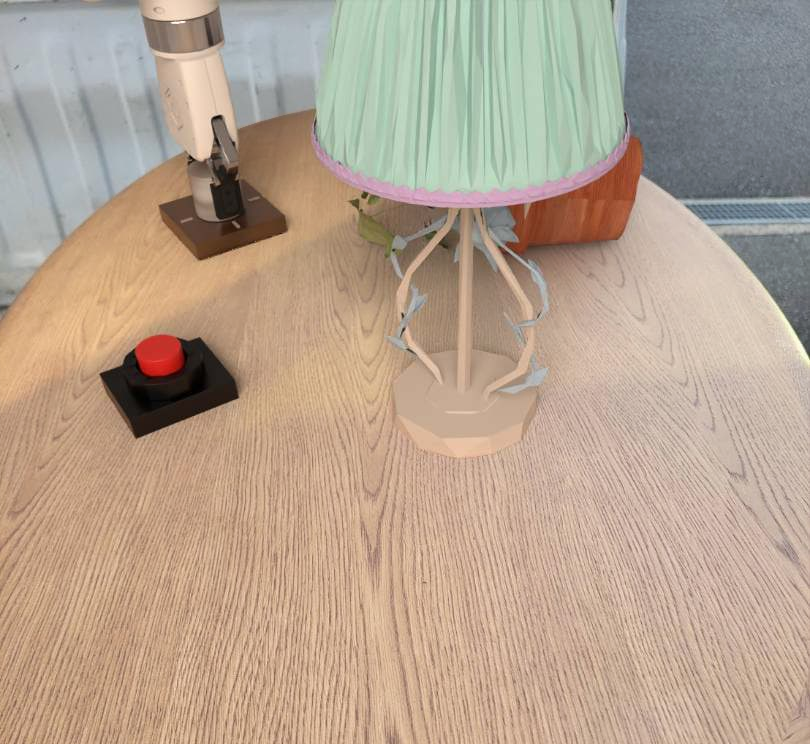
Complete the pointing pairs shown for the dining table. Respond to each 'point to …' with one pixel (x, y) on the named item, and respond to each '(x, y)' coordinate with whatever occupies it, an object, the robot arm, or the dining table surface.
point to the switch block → (169, 389)
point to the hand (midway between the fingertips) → (219, 202)
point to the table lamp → (469, 166)
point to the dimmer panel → (223, 224)
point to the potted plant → (554, 211)
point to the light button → (160, 355)
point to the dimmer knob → (204, 190)
